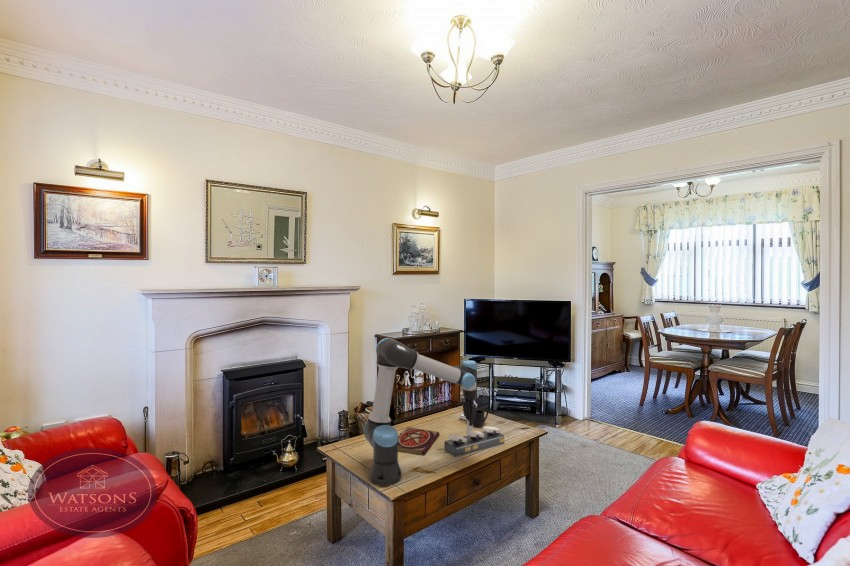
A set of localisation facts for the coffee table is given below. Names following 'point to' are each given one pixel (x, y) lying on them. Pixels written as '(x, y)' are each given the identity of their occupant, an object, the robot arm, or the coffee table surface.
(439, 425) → the coffee table surface
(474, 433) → the white rectangular block
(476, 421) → the mug
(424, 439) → the book
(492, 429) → the block
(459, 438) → the block
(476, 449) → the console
